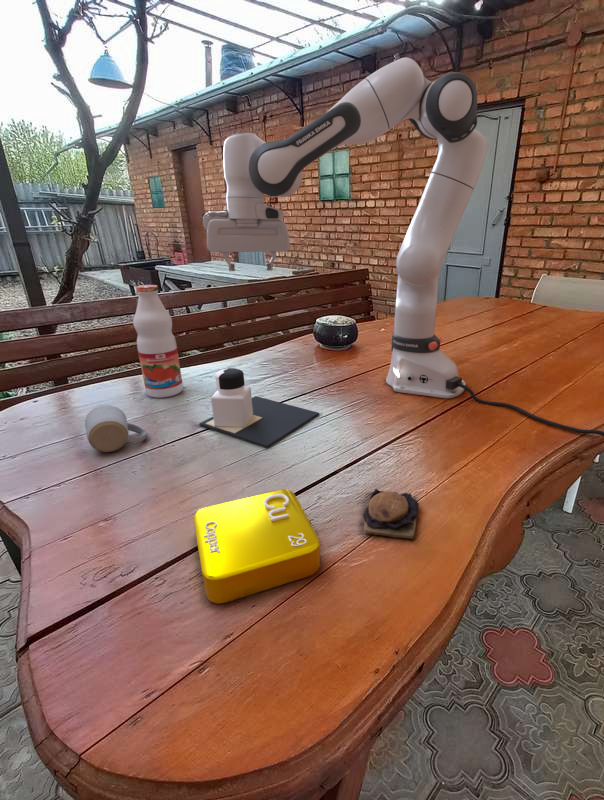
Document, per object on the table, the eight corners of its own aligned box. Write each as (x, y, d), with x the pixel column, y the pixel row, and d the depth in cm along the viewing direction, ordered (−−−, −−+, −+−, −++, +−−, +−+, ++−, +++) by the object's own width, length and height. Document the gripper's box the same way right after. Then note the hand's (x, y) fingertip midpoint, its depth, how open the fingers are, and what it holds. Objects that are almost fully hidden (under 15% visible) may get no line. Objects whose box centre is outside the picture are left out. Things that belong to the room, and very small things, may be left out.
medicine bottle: (253, 414, 100) (249, 365, 96) (246, 427, 94) (241, 376, 89) (223, 413, 101) (217, 365, 96) (214, 427, 94) (207, 376, 89)
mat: (319, 414, 102) (319, 411, 102) (267, 448, 87) (267, 444, 87) (256, 398, 111) (255, 395, 111) (199, 425, 96) (198, 422, 96)
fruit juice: (182, 383, 121) (166, 282, 110) (184, 395, 113) (167, 287, 102) (146, 388, 117) (126, 284, 106) (146, 400, 109) (124, 289, 98)
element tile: (195, 532, 64) (191, 506, 62) (292, 507, 69) (290, 483, 67) (208, 610, 51) (203, 580, 49) (324, 572, 56) (324, 544, 55)
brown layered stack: (416, 542, 62) (418, 522, 61) (359, 534, 63) (360, 514, 62) (418, 498, 72) (420, 480, 70) (368, 493, 73) (369, 474, 71)
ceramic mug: (91, 458, 83) (83, 423, 80) (89, 441, 89) (81, 408, 86) (150, 445, 88) (144, 412, 85) (144, 430, 94) (138, 398, 91)
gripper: (200, 210, 98) (208, 273, 103) (289, 211, 102) (291, 271, 108) (202, 211, 103) (209, 270, 109) (286, 212, 108) (288, 268, 114)
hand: (251, 270), depth 109 cm, fingers open, 8 cm apart
